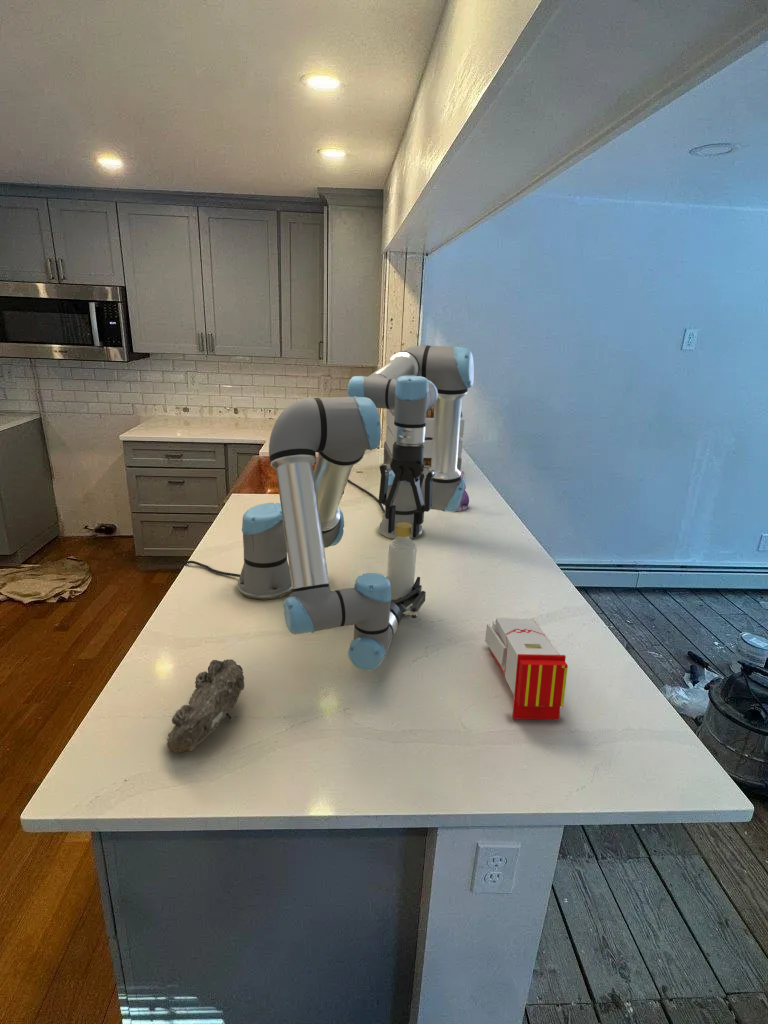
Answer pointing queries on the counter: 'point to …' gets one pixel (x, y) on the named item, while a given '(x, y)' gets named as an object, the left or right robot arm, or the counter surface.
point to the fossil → (206, 705)
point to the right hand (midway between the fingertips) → (403, 533)
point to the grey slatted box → (427, 444)
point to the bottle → (401, 566)
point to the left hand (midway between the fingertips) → (404, 579)
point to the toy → (529, 667)
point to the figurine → (463, 498)
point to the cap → (403, 529)
